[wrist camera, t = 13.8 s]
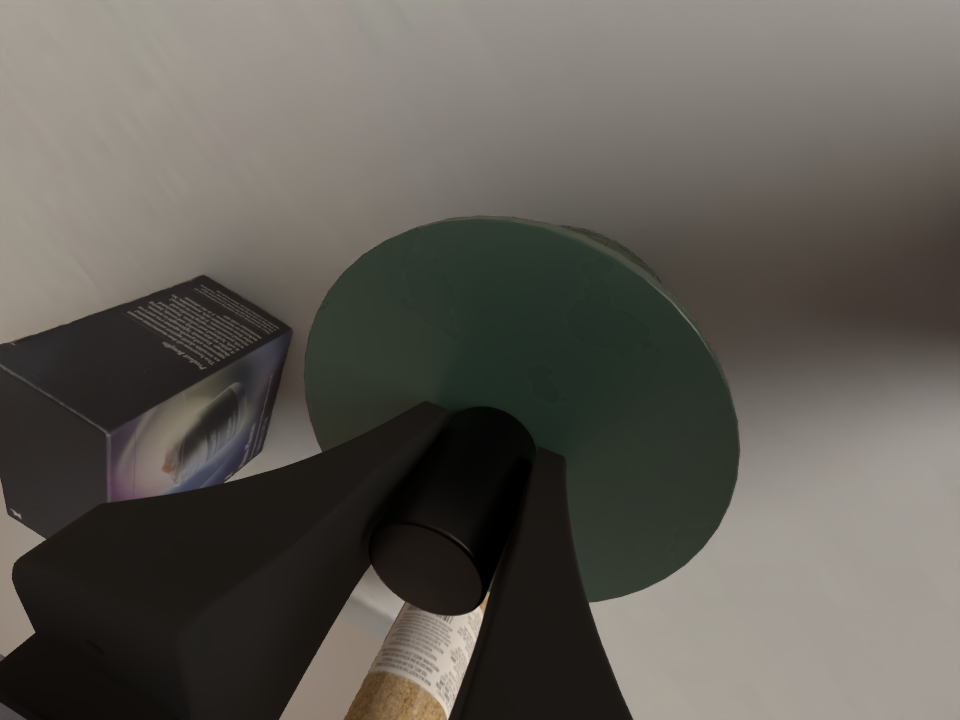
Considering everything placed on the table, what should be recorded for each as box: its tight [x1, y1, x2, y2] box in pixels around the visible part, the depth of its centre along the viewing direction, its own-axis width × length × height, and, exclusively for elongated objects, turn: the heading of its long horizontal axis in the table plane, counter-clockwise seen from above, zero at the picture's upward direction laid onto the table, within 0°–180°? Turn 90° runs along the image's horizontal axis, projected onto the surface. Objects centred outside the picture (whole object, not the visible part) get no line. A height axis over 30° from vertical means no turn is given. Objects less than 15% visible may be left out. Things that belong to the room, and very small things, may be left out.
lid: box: [304, 215, 740, 616], centre depth 11 cm, size 11×11×5 cm
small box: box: [0, 275, 292, 539], centre depth 24 cm, size 11×6×10 cm, turn 155°
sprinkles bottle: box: [344, 592, 490, 720], centre depth 23 cm, size 5×5×14 cm
